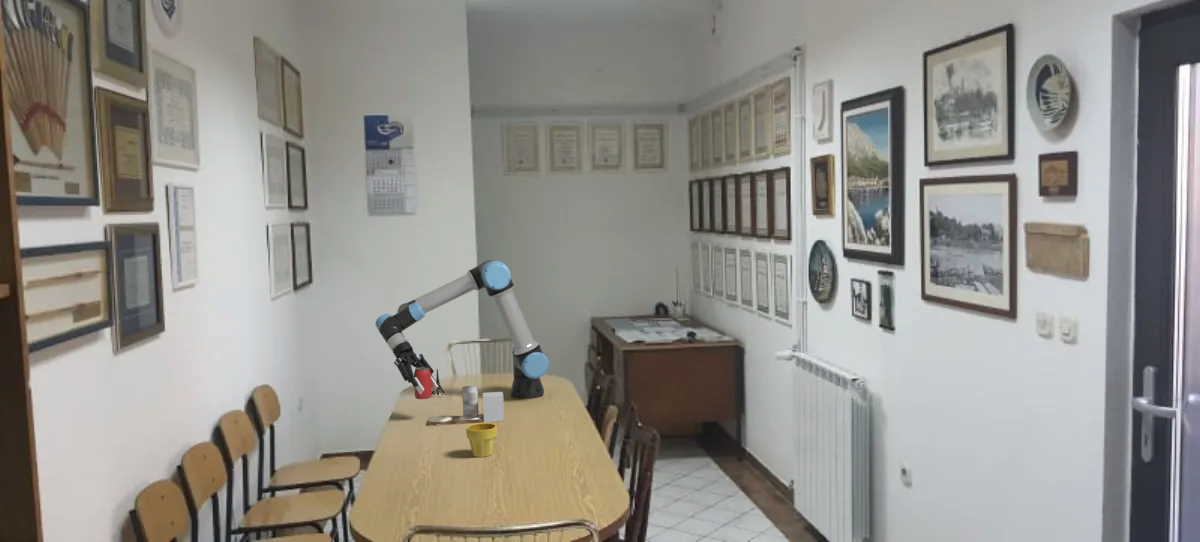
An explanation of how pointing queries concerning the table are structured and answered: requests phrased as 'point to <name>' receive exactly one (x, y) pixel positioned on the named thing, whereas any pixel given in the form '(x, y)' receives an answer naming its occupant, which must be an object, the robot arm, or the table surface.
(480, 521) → the table surface
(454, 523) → the table surface
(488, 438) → the plant pot
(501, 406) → the white upright block
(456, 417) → the board
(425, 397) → the beer can
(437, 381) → the eiffel tower figurine
